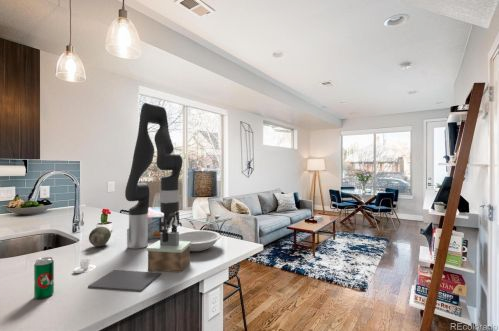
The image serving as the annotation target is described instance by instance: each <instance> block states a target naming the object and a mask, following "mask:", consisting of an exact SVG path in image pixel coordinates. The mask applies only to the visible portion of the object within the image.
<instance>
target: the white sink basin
mask: <svg viewBox="0 0 499 331" xmlns="http://www.w3.org/2000/svg"><path fill="white" fill-rule="evenodd" d="M220 238H221V234H220V233H219V232H216V231H212V230H203V229H201V230H189V231H183V232H179V241H190V242H191V245H190V252H202V251H206V250H208V249H209V250H210V248H212V247H213V246H214V245H216V243H217V241H218V240H220Z"/></svg>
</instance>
